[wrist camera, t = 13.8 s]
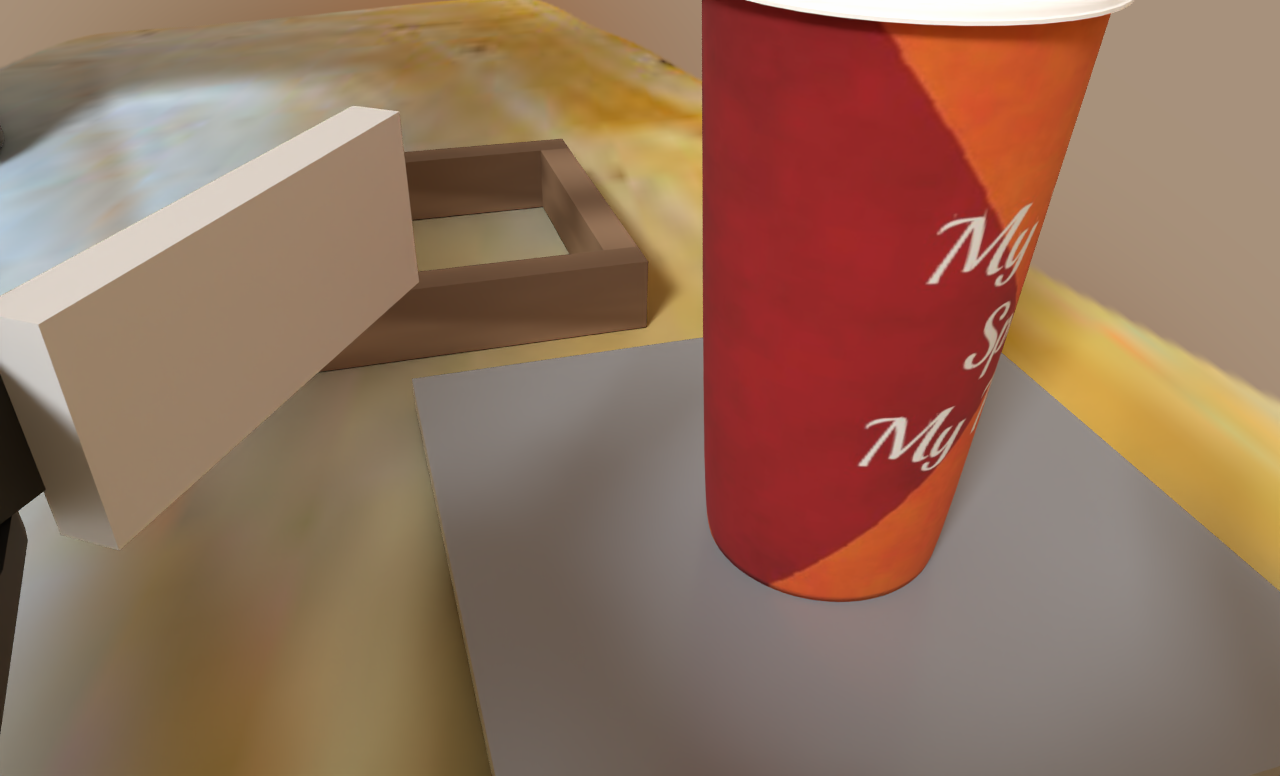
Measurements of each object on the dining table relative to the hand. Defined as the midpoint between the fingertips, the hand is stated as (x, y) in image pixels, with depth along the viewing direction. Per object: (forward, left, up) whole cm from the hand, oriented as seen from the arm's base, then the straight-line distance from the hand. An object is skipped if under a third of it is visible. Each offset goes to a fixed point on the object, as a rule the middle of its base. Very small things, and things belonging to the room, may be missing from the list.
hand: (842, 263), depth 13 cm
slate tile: (-6, +4, -11) cm, 13 cm away
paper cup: (-6, +4, -10) cm, 13 cm away
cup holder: (-24, -3, -11) cm, 27 cm away
